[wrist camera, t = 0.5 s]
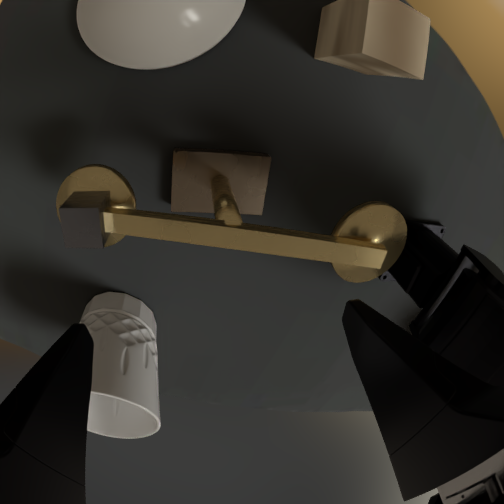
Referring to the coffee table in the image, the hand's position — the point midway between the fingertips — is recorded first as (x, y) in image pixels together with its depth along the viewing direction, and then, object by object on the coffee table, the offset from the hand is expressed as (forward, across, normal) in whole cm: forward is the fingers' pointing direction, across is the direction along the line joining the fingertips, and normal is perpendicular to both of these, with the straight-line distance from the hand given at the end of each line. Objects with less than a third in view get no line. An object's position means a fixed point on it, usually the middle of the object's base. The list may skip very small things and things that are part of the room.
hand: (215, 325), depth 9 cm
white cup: (+12, +9, +11) cm, 18 cm away
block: (+12, -9, -11) cm, 19 cm away
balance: (+12, -1, -1) cm, 12 cm away
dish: (+12, +2, -13) cm, 18 cm away
